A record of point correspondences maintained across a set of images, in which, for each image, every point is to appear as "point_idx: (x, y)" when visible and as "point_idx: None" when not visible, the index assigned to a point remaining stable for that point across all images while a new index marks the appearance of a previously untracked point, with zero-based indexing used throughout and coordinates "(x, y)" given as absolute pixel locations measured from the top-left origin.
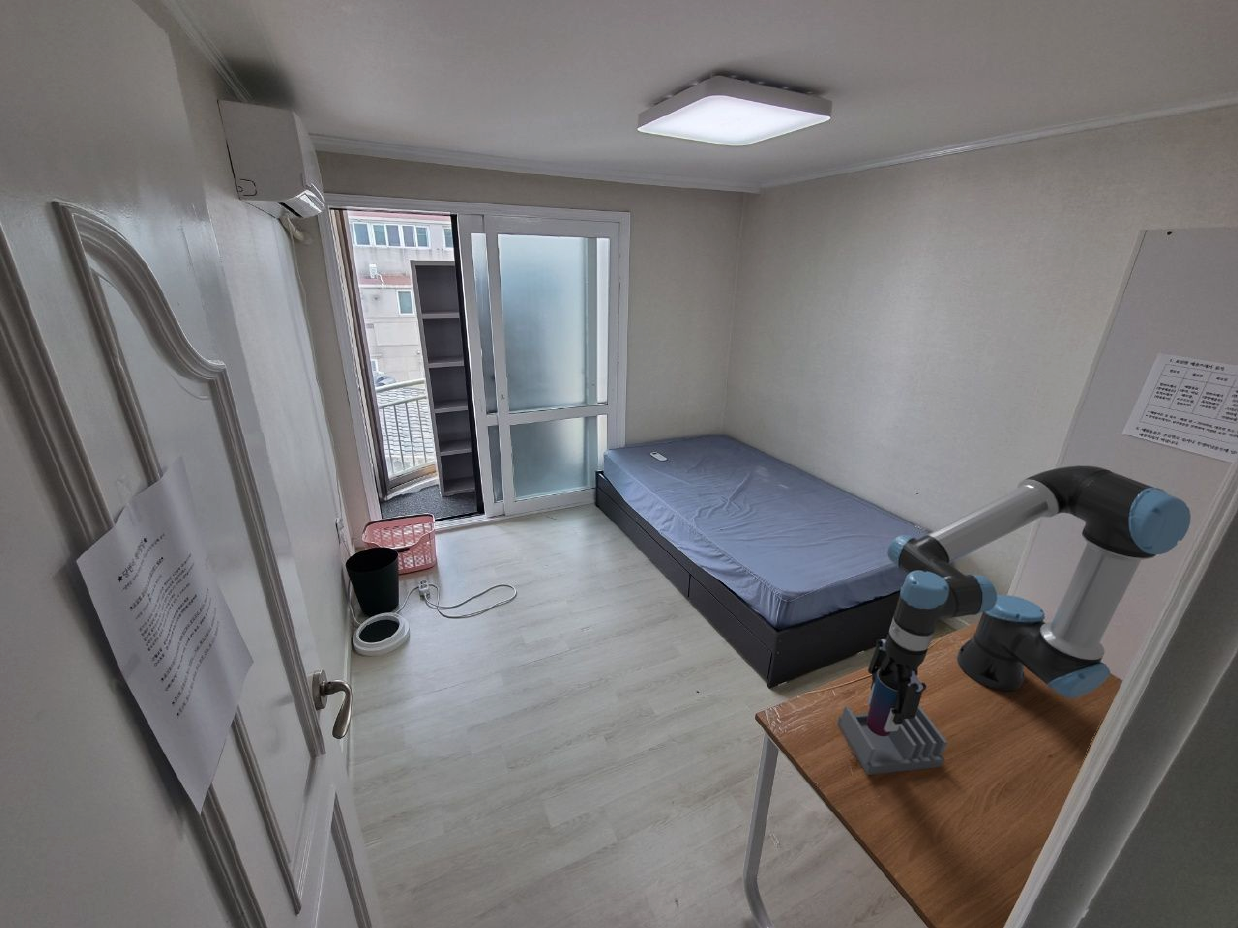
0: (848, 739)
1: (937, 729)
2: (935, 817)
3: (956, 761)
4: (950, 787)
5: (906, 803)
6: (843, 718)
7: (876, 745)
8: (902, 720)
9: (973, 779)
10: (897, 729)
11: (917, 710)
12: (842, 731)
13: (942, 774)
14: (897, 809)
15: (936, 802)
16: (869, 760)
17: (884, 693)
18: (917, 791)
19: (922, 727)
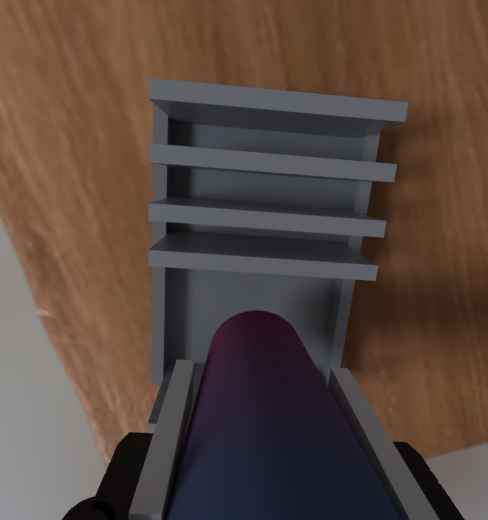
0: None
1: (337, 97)
2: (475, 266)
3: (361, 51)
4: (426, 153)
5: (420, 317)
6: None
7: (262, 307)
8: (435, 485)
9: (431, 44)
10: (351, 376)
11: (206, 107)
12: None
13: (385, 145)
14: (425, 349)
15: (446, 233)
16: None
17: None
18: (404, 265)
19: (310, 170)
